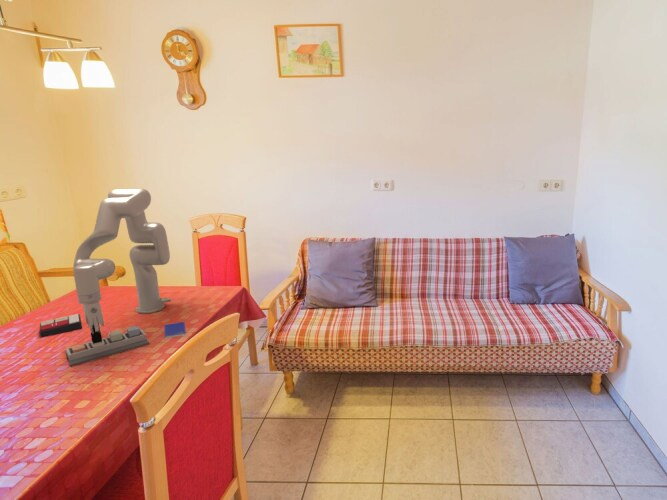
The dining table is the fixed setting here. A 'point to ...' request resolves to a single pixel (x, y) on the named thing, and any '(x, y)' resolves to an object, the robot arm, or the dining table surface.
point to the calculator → (60, 325)
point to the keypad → (106, 348)
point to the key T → (133, 331)
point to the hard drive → (175, 330)
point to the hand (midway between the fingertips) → (97, 341)
